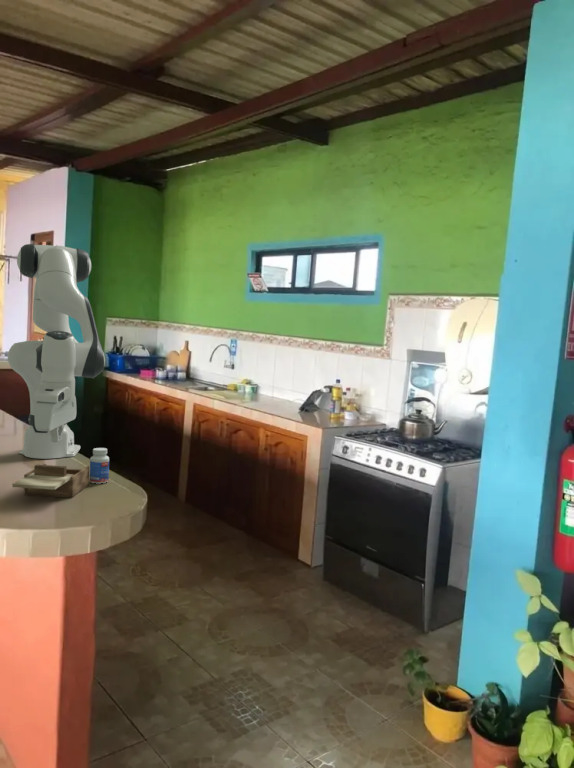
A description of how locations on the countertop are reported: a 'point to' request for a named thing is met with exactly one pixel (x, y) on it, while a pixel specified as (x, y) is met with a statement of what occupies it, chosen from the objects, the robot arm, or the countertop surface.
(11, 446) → the countertop surface
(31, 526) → the countertop surface
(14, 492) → the countertop surface
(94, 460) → the pill bottle
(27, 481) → the lid
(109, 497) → the countertop surface
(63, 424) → the robot arm
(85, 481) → the lid box
